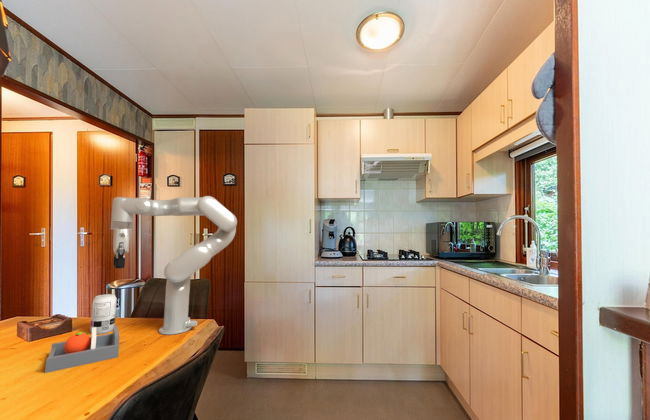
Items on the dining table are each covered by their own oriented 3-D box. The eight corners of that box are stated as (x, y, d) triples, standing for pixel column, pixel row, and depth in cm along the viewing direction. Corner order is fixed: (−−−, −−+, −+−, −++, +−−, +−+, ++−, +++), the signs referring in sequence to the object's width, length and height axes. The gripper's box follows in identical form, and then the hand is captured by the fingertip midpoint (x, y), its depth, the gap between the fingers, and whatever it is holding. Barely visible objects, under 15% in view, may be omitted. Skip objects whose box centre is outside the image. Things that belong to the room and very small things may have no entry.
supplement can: (85, 333, 117) (88, 297, 118) (105, 327, 125) (108, 293, 126) (98, 335, 115) (101, 298, 116) (118, 329, 123) (121, 294, 124)
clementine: (78, 349, 100) (77, 329, 100) (98, 347, 100) (97, 327, 100) (58, 360, 92) (57, 339, 92) (80, 358, 92) (79, 337, 92)
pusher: (94, 345, 103) (96, 327, 103) (94, 357, 94) (96, 336, 94) (90, 346, 102) (92, 327, 102) (90, 358, 93) (91, 337, 93)
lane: (115, 343, 108) (117, 325, 108) (118, 357, 96) (119, 336, 97) (51, 355, 96) (52, 335, 97) (45, 372, 85) (47, 349, 85)
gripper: (134, 226, 114) (131, 268, 113) (130, 226, 128) (127, 264, 126) (111, 225, 110) (108, 269, 108) (109, 226, 123) (106, 265, 122)
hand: (118, 266), depth 117 cm, fingers open, 9 cm apart
